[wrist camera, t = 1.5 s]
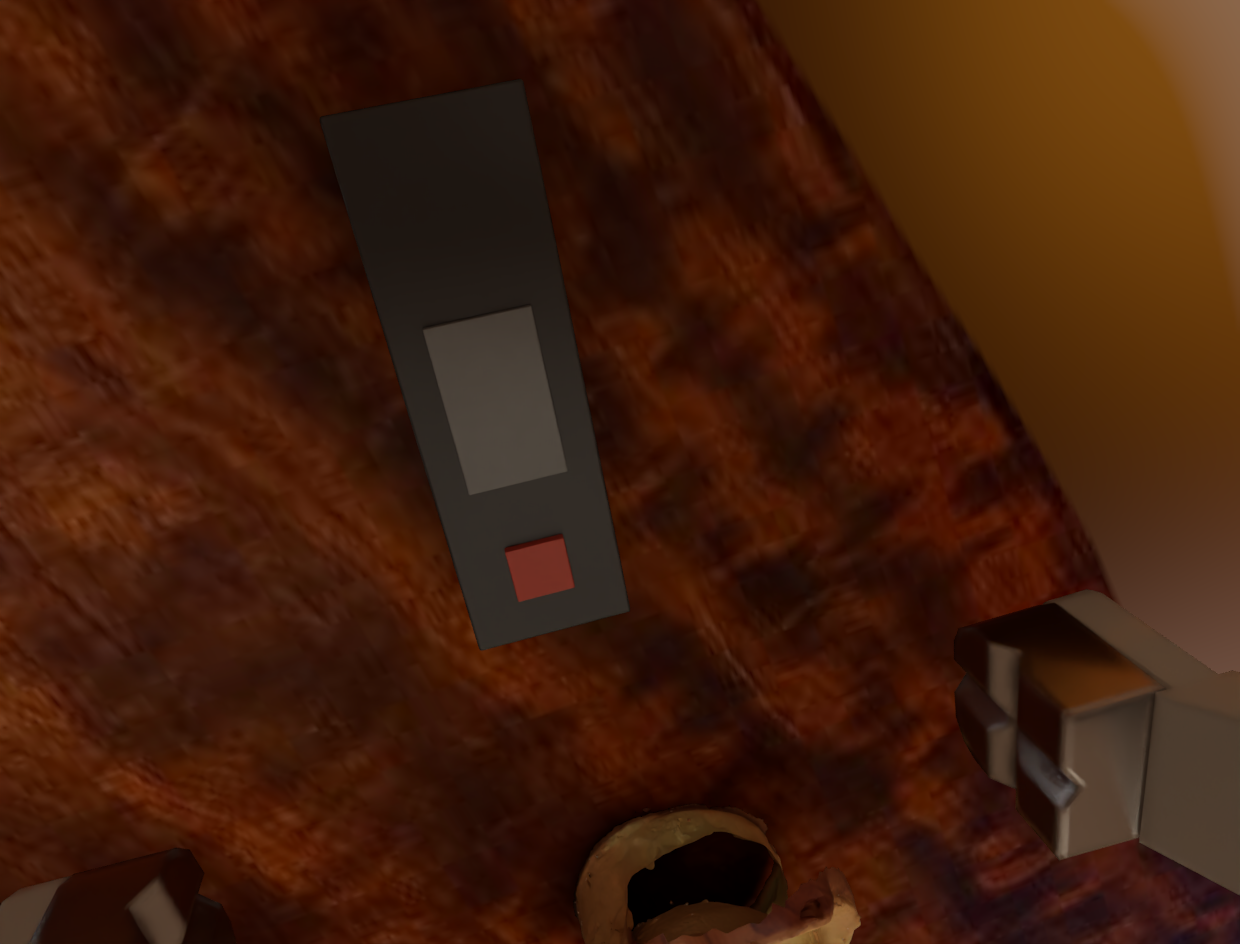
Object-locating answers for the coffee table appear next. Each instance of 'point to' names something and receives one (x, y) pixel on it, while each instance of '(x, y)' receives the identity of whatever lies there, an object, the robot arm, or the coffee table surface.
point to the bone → (708, 931)
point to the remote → (484, 351)
